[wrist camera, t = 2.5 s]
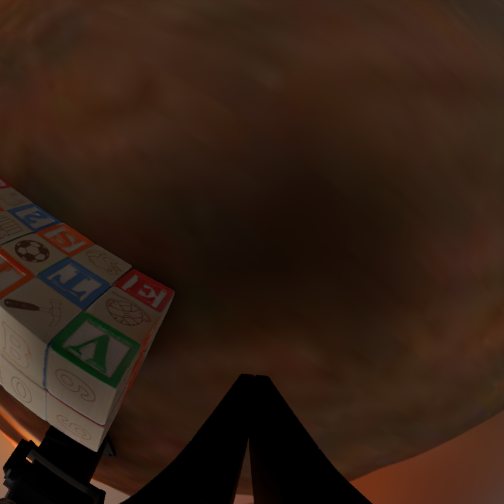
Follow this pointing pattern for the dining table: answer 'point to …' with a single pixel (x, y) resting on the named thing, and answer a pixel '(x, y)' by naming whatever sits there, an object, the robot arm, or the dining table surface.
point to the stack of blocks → (70, 320)
